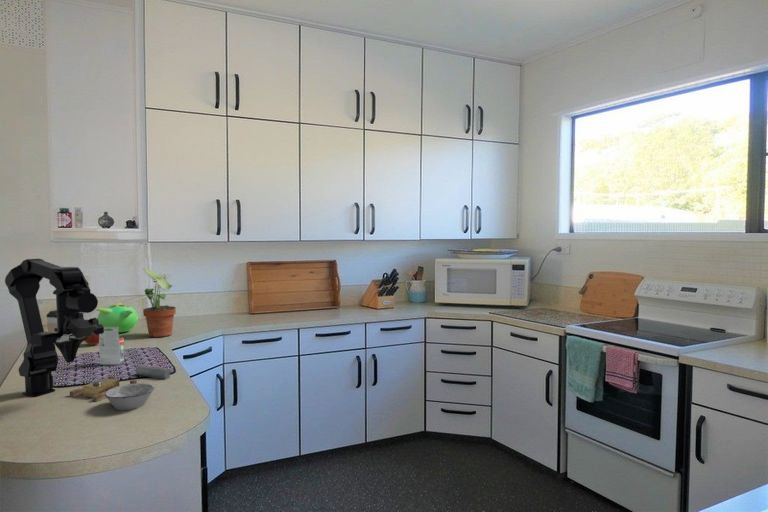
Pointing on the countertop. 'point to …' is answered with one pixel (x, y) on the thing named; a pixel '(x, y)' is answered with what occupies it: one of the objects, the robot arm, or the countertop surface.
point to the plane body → (98, 396)
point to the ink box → (111, 347)
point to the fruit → (92, 339)
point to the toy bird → (118, 317)
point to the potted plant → (158, 309)
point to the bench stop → (153, 371)
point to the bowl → (129, 395)
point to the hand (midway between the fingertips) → (70, 362)
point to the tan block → (99, 387)
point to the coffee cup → (52, 321)
